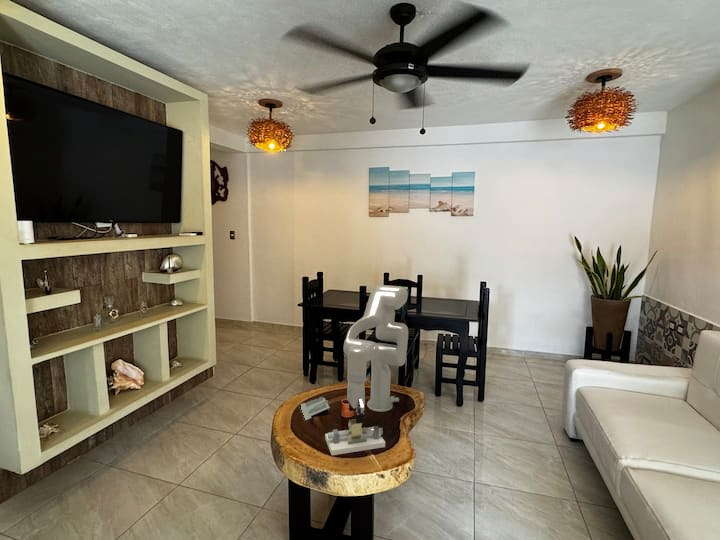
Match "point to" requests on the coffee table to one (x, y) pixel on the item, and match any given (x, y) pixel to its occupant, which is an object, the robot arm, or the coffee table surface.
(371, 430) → the left shaft
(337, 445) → the shaft mount
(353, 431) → the coupler
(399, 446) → the coffee table surface
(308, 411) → the metal bracket
